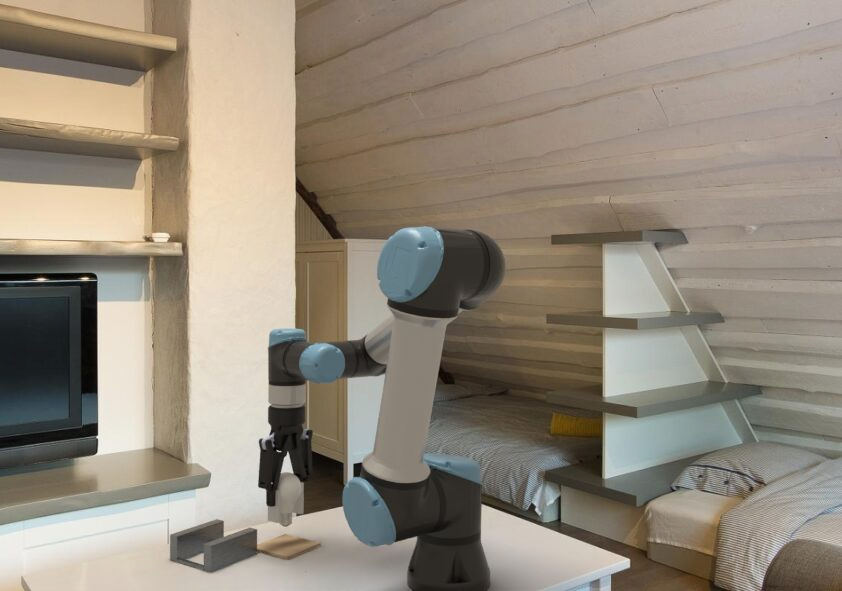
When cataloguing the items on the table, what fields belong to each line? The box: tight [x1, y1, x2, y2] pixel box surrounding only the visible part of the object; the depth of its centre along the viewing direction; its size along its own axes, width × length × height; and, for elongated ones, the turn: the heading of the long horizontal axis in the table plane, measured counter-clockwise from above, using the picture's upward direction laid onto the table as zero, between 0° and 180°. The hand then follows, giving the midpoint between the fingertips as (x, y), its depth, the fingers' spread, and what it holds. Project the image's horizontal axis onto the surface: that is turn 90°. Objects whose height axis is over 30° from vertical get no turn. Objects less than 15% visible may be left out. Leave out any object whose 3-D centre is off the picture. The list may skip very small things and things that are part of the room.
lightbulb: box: [271, 472, 302, 527], centre depth 163 cm, size 6×6×11 cm
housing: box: [169, 518, 258, 573], centre depth 157 cm, size 12×12×5 cm
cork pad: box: [257, 533, 322, 561], centre depth 163 cm, size 10×10×1 cm
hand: (285, 516), depth 163 cm, fingers closed on lightbulb, 6 cm apart
